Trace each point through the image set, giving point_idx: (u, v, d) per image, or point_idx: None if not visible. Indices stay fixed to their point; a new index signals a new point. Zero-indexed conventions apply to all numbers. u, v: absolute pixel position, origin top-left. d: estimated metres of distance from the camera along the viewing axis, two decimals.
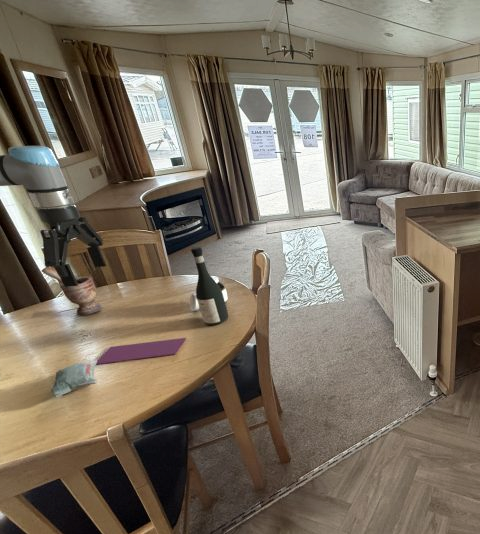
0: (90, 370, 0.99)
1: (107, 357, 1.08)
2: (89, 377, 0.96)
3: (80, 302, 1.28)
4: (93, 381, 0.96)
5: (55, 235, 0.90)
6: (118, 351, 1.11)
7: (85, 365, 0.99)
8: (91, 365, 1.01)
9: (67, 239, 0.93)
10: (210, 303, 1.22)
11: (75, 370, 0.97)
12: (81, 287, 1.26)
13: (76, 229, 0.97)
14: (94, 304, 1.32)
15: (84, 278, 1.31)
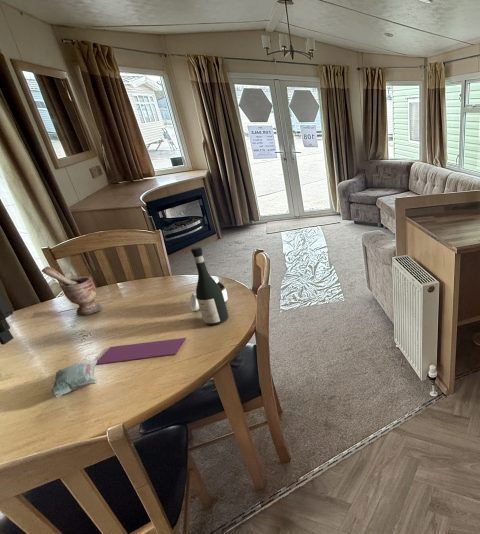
0: (90, 370, 0.99)
1: (107, 357, 1.08)
2: (89, 377, 0.96)
3: (80, 302, 1.28)
4: (93, 381, 0.96)
5: None
6: (118, 351, 1.11)
7: (85, 365, 0.99)
8: (91, 365, 1.01)
9: None
10: (210, 303, 1.22)
11: (75, 370, 0.97)
12: (81, 287, 1.26)
13: None
14: (94, 304, 1.32)
15: (84, 278, 1.31)
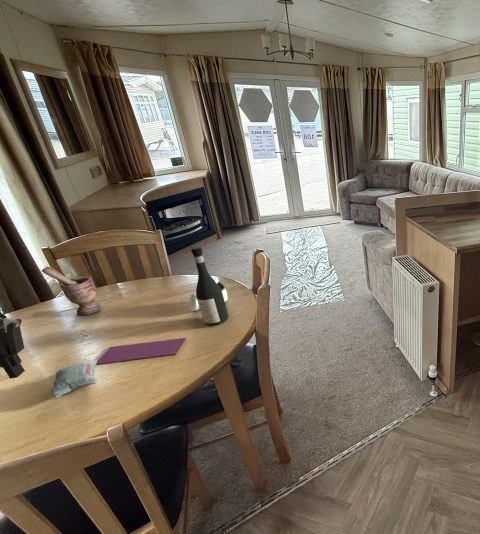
0: (90, 370, 0.99)
1: (107, 357, 1.08)
2: (89, 377, 0.96)
3: (80, 302, 1.28)
4: (93, 381, 0.96)
5: None
6: (118, 351, 1.11)
7: (85, 365, 0.99)
8: (91, 365, 1.01)
9: None
10: (210, 303, 1.22)
11: (75, 370, 0.97)
12: (81, 287, 1.26)
13: None
14: (94, 304, 1.32)
15: (84, 278, 1.31)
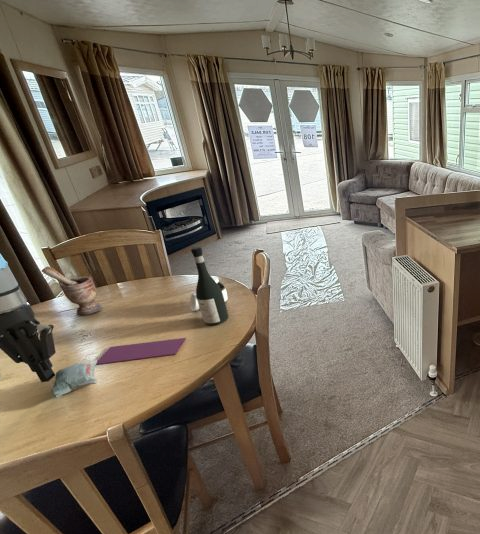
0: (90, 370, 0.99)
1: (107, 357, 1.08)
2: (89, 377, 0.96)
3: (80, 302, 1.28)
4: (93, 381, 0.96)
5: None
6: (118, 351, 1.11)
7: (85, 365, 0.99)
8: (91, 365, 1.01)
9: None
10: (210, 303, 1.22)
11: (75, 370, 0.97)
12: (81, 287, 1.26)
13: None
14: (94, 304, 1.32)
15: (84, 278, 1.31)
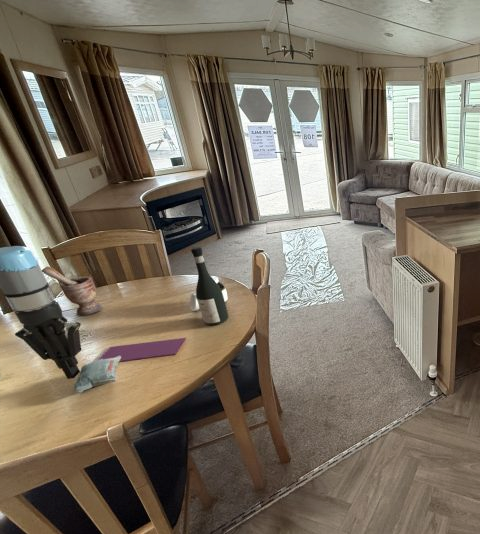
0: (112, 367, 1.00)
1: (107, 357, 1.08)
2: (110, 374, 0.98)
3: (80, 302, 1.28)
4: (113, 378, 0.97)
5: None
6: (118, 351, 1.11)
7: (108, 361, 1.01)
8: (114, 361, 1.03)
9: None
10: (211, 303, 1.22)
11: (98, 366, 0.98)
12: (81, 287, 1.26)
13: None
14: (94, 304, 1.32)
15: (84, 278, 1.31)
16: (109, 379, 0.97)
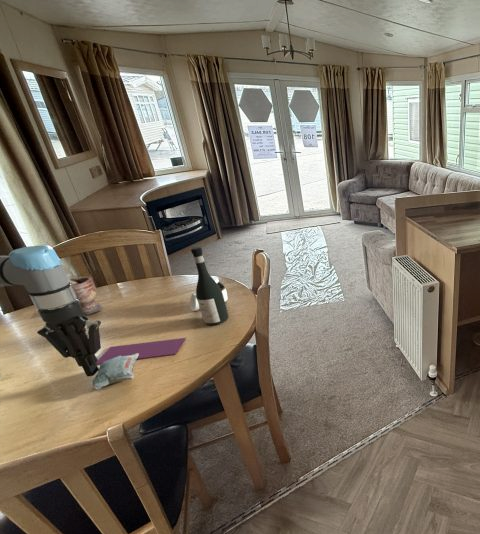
0: (130, 364, 1.02)
1: (107, 357, 1.08)
2: (127, 372, 0.99)
3: (80, 302, 1.28)
4: (130, 376, 0.98)
5: None
6: (118, 351, 1.11)
7: (126, 359, 1.02)
8: (132, 359, 1.04)
9: None
10: (210, 303, 1.22)
11: (116, 363, 1.00)
12: (81, 287, 1.26)
13: None
14: (94, 304, 1.32)
15: (84, 278, 1.31)
16: (126, 376, 0.98)
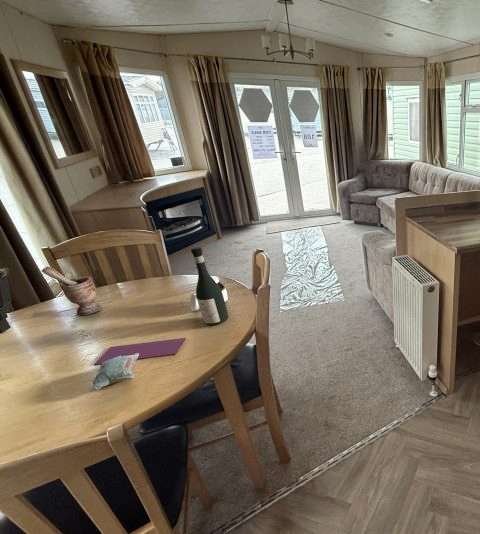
0: (130, 364, 1.02)
1: (107, 357, 1.08)
2: (127, 372, 0.99)
3: (80, 302, 1.28)
4: (130, 376, 0.98)
5: None
6: (118, 351, 1.11)
7: (126, 359, 1.02)
8: (132, 359, 1.04)
9: None
10: (210, 303, 1.22)
11: (116, 363, 1.00)
12: (81, 287, 1.26)
13: None
14: (94, 304, 1.32)
15: (84, 278, 1.31)
16: (126, 376, 0.98)
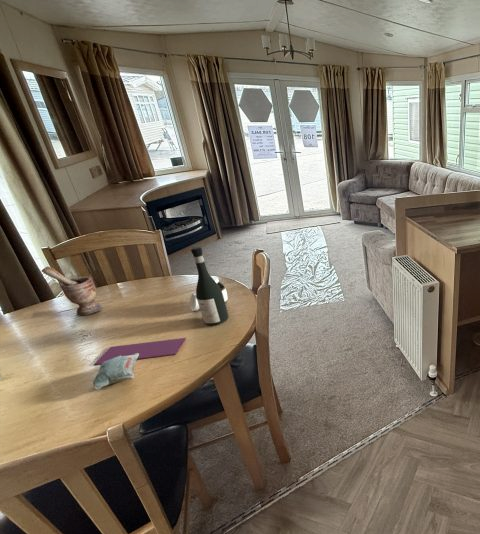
0: (130, 364, 1.02)
1: (107, 357, 1.08)
2: (127, 372, 0.99)
3: (80, 302, 1.28)
4: (130, 376, 0.98)
5: None
6: (118, 351, 1.11)
7: (126, 359, 1.02)
8: (132, 359, 1.04)
9: None
10: (210, 303, 1.22)
11: (116, 363, 1.00)
12: (81, 287, 1.26)
13: None
14: (94, 304, 1.32)
15: (84, 278, 1.31)
16: (126, 376, 0.98)
